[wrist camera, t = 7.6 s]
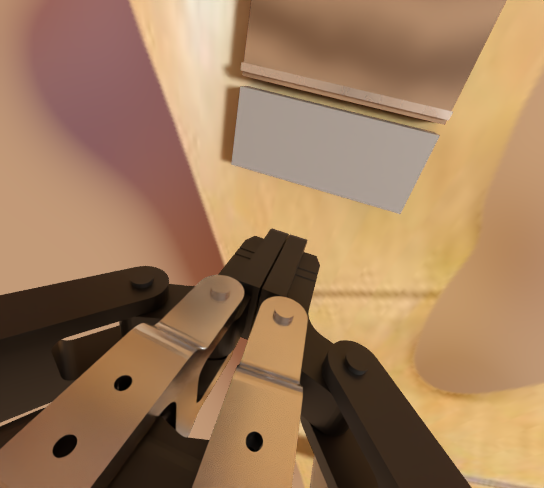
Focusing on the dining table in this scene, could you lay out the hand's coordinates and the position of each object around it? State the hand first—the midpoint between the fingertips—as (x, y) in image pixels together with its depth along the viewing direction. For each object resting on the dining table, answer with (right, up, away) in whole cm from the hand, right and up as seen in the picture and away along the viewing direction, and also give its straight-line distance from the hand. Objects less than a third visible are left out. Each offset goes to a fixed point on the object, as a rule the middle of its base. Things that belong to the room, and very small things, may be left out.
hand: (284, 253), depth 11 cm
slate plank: (+5, +10, +15) cm, 19 cm away
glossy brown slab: (+6, +16, +11) cm, 21 cm away
